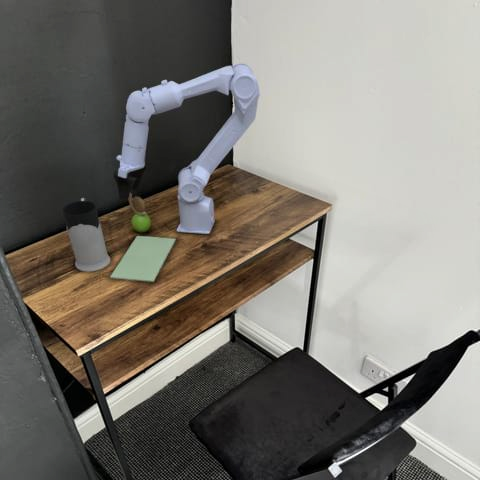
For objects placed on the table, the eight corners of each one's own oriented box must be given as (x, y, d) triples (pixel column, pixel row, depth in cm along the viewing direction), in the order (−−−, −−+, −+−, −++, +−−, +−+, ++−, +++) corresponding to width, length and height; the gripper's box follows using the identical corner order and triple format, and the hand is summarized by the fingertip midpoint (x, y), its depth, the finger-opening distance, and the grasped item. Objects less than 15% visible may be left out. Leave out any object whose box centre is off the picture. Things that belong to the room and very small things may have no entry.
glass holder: (74, 273, 114) (57, 218, 104) (78, 244, 125) (63, 191, 115) (110, 269, 115) (97, 214, 106) (110, 240, 126) (99, 188, 116)
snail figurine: (140, 223, 133) (133, 184, 125) (156, 230, 130) (150, 189, 122) (126, 231, 130) (118, 191, 122) (142, 238, 127) (135, 197, 119)
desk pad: (175, 239, 126) (175, 238, 126) (153, 282, 111) (153, 280, 111) (137, 237, 127) (137, 235, 127) (110, 278, 112) (109, 276, 112)
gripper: (129, 131, 121) (123, 179, 129) (108, 147, 109) (103, 199, 117) (155, 139, 121) (148, 187, 129) (136, 156, 109) (130, 207, 118)
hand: (128, 193), depth 123 cm, fingers open, 7 cm apart
